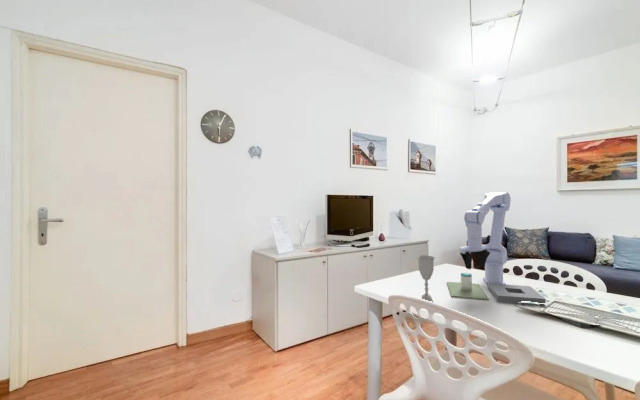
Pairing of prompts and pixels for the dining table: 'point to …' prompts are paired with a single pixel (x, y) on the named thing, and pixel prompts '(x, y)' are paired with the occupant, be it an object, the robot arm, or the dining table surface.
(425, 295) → the chalice
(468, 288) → the cylinder
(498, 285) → the housing
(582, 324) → the phone
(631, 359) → the dining table surface
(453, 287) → the mat
